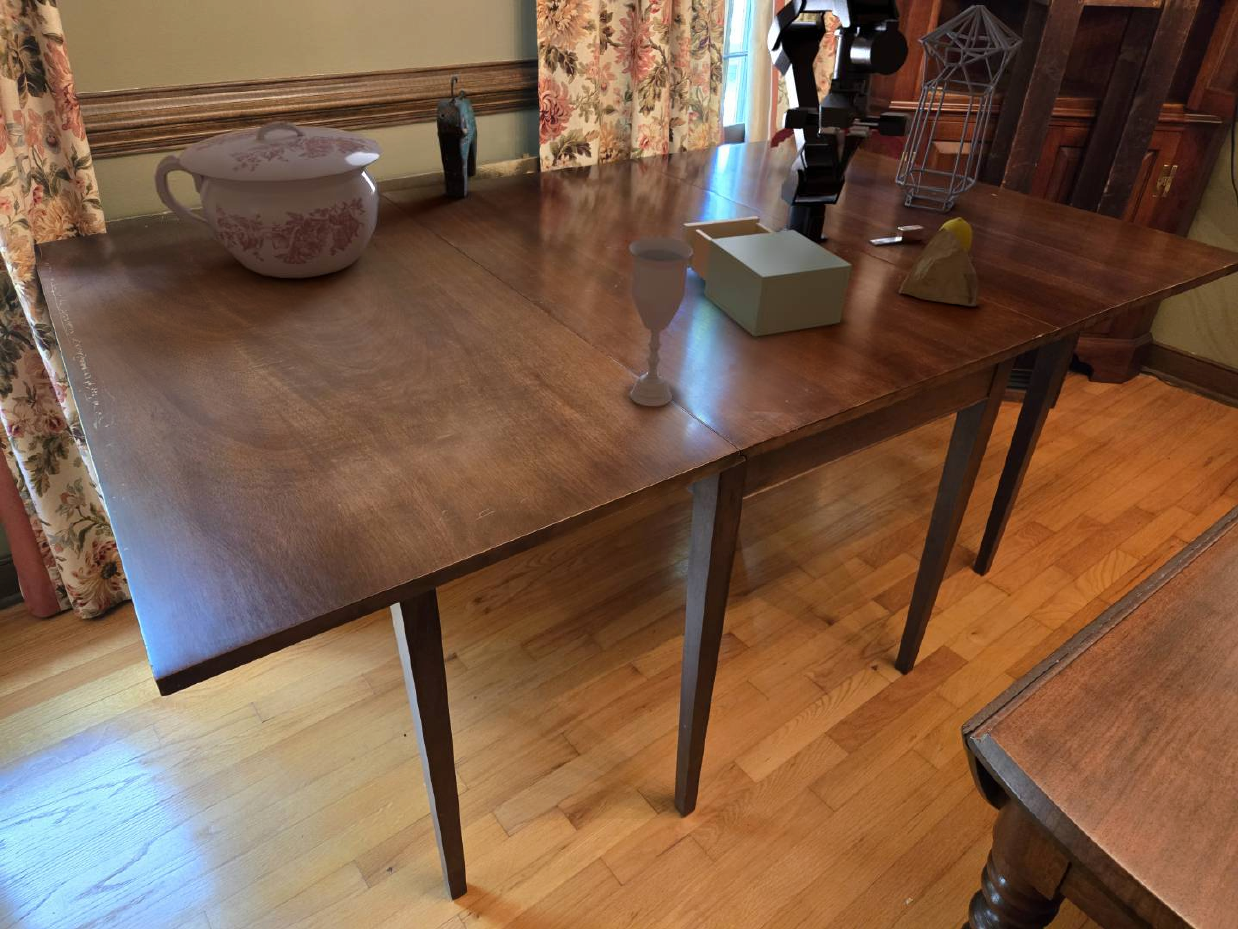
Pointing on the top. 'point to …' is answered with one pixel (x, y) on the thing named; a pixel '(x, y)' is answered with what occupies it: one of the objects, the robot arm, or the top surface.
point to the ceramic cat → (457, 141)
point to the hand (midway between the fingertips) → (838, 179)
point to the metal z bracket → (902, 235)
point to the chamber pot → (282, 196)
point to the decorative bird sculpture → (888, 141)
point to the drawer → (716, 237)
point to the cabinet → (776, 282)
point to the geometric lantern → (934, 39)
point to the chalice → (657, 304)
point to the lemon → (960, 231)
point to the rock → (943, 273)
